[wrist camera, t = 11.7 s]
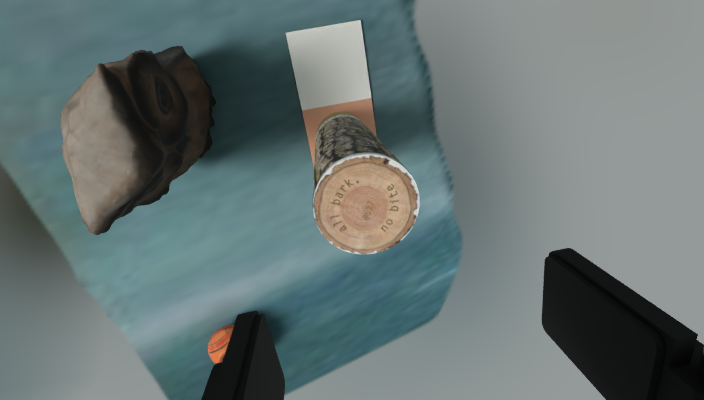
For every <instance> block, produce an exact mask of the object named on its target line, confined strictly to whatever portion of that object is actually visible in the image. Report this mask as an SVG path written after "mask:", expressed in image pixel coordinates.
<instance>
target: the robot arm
mask: <svg viewBox="0 0 704 400" xmlns="http://www.w3.org/2000/svg"><path fill="white" fill-rule="evenodd" d="M542 307H543V308H542V325H543V328H544V330H545V331H546V333H547V334H548V335H549V336H550V337H551V339H552V340H553V341H554V342H555V343H556V344H557V345H558V346H559V347H560V349H561V350H562V351H563V352H564V353H565V354H566V355H567V356H568V358H569V359H570V360H571V361H572V362H573V363H574V364H575V365H576V367H577V368H578V369H579V370H580V371H581V372H582V373H583V374H584V375H585V377H586V378H587V379H588V380H589V381H590V382H591V383H592V384H593V386H594V387H596V389H597V390H598V391H599V392H600V393H601V394H602V396H603V397H604V398H605V399H606V400H704V345H703V344H702V343H700V342H699V341H697V340H696V339H697V336H698V334H696V333H695V332H693V331H692V330H690V329H689V328H687V327H686V326H685V325H683V324H682V323H680V322H679V321H677V320H676V319H674V318H673V317H671V316H670V315H668V314H667V313H665V312H664V311H662V310H661V309H659V308H658V307H656V306H655V305H654V304H652V303H651V302H649V301H648V300H646V299H645V298H643V297H642V296H640V295H639V294H637V293H636V292H635V291H633V290H632V289H630V288H629V287H627V286H626V285H624V284H623V283H621V282H620V281H618V280H617V279H615V278H614V277H612V276H611V275H610V274H608V273H606V272H605V271H604V270H602V269H601V268H599V267H598V266H596V265H595V264H593V263H592V262H590V261H589V260H588V259H586V258H584V257H583V256H582V255H580V254H579V253H577V252H576V251H574V250H573V249H571V248H566V249H561V250H556V251H552V252H550V253H549V257H546V259H545V266H544V286H543V306H542ZM284 391H285V380H284V375H283V372H282V368H281V365H280V362H279V359H278V356H277V353H276V350H275V346H274V343H273V340H272V337H271V334H270V331H269V328H268V325H267V321H266V318H265V316H264V314H261V315H259V314H258V312H257V311H252V312H247V313H243V314H239V315H238V316H237V318H236V321H235V324H234V327H233V331H232V334H231V337H230V340H229V343H228V346H227V349H226V352H225V355H224V358H223V362H220V363H216V364H215V365H214V366H213V369H212V371H211V374H210V376H209V379H208V382H207V385H206V388H205V391H204V394H203V397H202V399H201V400H284Z"/></svg>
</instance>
